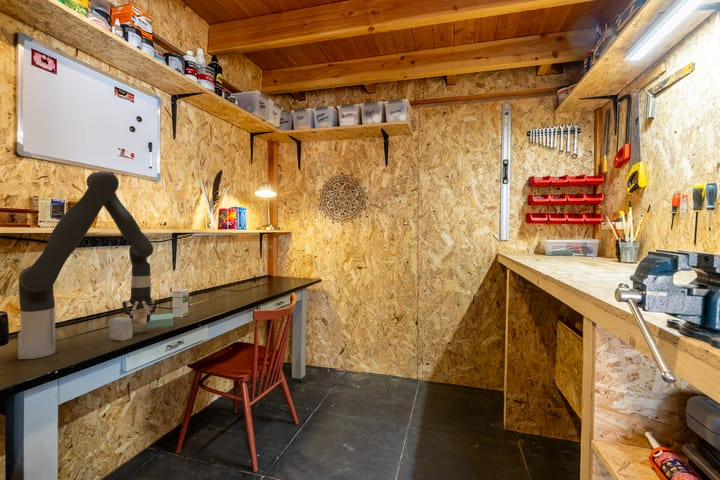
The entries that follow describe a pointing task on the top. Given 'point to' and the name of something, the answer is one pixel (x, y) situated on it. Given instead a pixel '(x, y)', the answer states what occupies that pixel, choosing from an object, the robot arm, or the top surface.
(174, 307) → the syrup box
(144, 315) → the birch cube
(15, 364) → the top surface
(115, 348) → the top surface
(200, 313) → the top surface
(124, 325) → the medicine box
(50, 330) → the robot arm
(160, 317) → the teal block
